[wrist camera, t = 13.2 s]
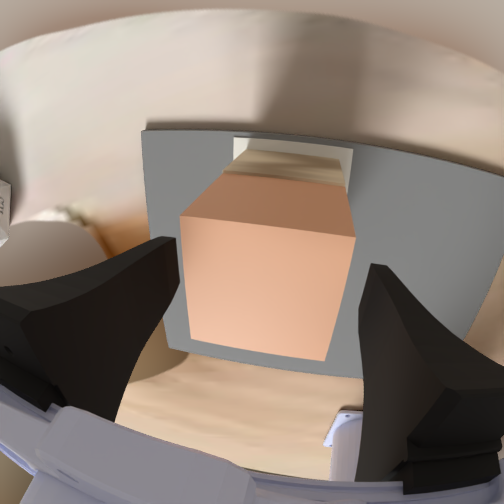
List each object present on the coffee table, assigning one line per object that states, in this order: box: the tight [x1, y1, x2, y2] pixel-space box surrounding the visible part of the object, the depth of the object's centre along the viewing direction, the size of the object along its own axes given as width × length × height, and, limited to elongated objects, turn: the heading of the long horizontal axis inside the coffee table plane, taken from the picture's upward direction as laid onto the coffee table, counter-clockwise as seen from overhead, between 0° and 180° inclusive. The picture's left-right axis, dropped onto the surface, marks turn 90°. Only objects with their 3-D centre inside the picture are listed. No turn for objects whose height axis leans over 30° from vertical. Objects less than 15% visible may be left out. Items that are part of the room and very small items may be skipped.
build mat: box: [141, 129, 504, 379], centre depth 20 cm, size 24×18×1 cm
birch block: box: [223, 149, 345, 187], centre depth 16 cm, size 5×5×4 cm
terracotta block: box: [180, 173, 356, 361], centre depth 12 cm, size 5×5×4 cm
